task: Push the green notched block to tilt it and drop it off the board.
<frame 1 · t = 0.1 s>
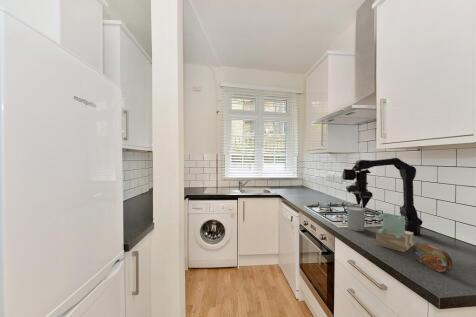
hand: (361, 206, 137), 15 cm above the table, tool pointing down, fingers open, 9 cm apart
tin: (431, 267, 92), on the table
grey round cylinder: (355, 228, 141), on the table
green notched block: (393, 232, 114), point 6 cm above the table, touching board
board: (394, 244, 115), on the table
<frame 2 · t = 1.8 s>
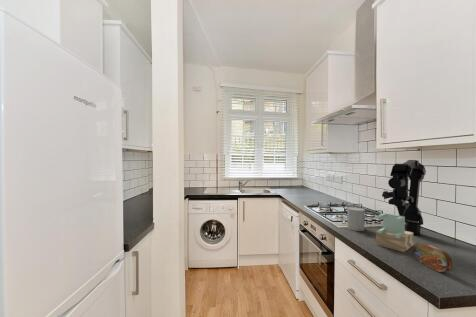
hand: (401, 216, 120), 13 cm above the table, tool pointing down, fingers closed
nothing on the table moved.
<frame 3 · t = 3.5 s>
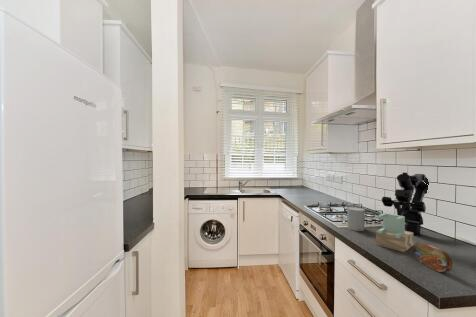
hand: (398, 216, 118), 14 cm above the table, tool tilted 45°, fingers closed
nothing on the table moved.
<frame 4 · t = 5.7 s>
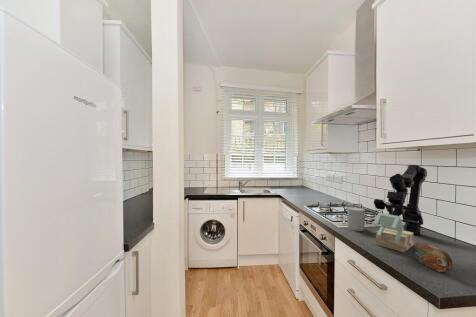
hand: (390, 220, 111), 13 cm above the table, tool tilted 45°, fingers closed
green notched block: (392, 227, 113), point 9 cm above the table, tilted 35°, touching board
everything else where it was.
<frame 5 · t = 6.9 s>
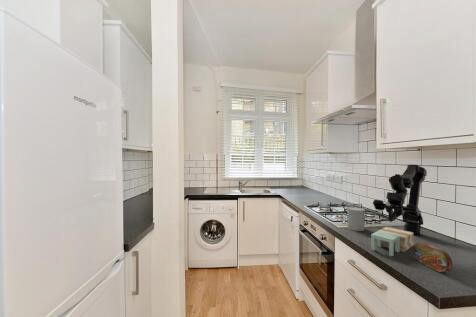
hand: (390, 221, 111), 13 cm above the table, tool tilted 45°, fingers closed
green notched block: (389, 233, 110), point 7 cm above the table, tilted 90°
everything else where it was.
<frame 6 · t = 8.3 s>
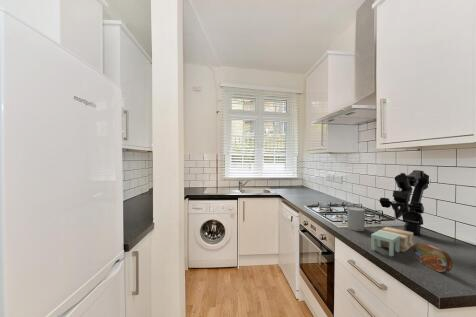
hand: (396, 218, 116), 13 cm above the table, tool tilted 45°, fingers closed
nothing on the table moved.
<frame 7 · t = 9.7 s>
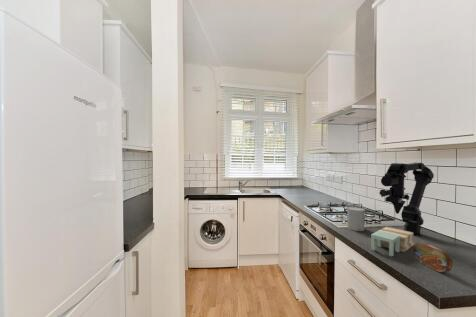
hand: (397, 213, 127), 13 cm above the table, tool pointing down, fingers closed
nothing on the table moved.
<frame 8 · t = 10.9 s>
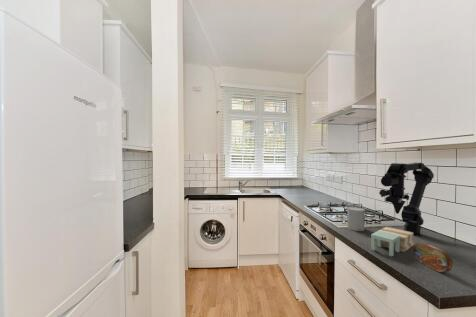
hand: (397, 213, 127), 13 cm above the table, tool pointing down, fingers closed
nothing on the table moved.
at the end: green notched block point 7.5 cm above the table; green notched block touching table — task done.
